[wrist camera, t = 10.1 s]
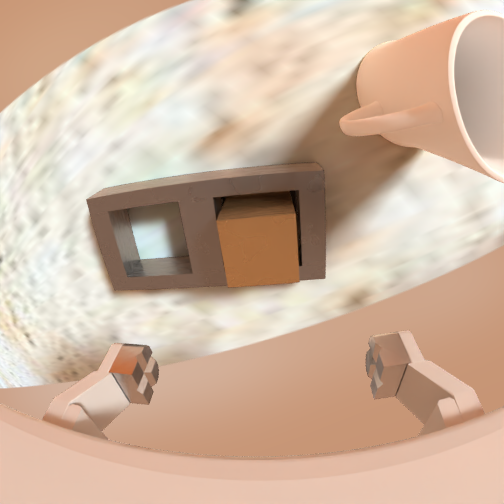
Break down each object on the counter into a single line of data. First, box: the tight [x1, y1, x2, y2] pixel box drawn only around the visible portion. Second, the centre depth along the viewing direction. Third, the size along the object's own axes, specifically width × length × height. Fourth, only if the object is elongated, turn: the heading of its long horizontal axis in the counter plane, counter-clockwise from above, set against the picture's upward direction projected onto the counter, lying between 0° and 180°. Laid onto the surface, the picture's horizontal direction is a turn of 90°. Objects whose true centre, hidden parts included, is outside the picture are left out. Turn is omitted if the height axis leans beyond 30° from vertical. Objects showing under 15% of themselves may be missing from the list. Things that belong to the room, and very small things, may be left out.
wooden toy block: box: [216, 191, 299, 288], centre depth 21 cm, size 4×4×6 cm
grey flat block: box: [86, 162, 326, 290], centre depth 22 cm, size 17×8×3 cm, turn 96°
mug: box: [339, 10, 504, 183], centre depth 13 cm, size 12×8×12 cm
